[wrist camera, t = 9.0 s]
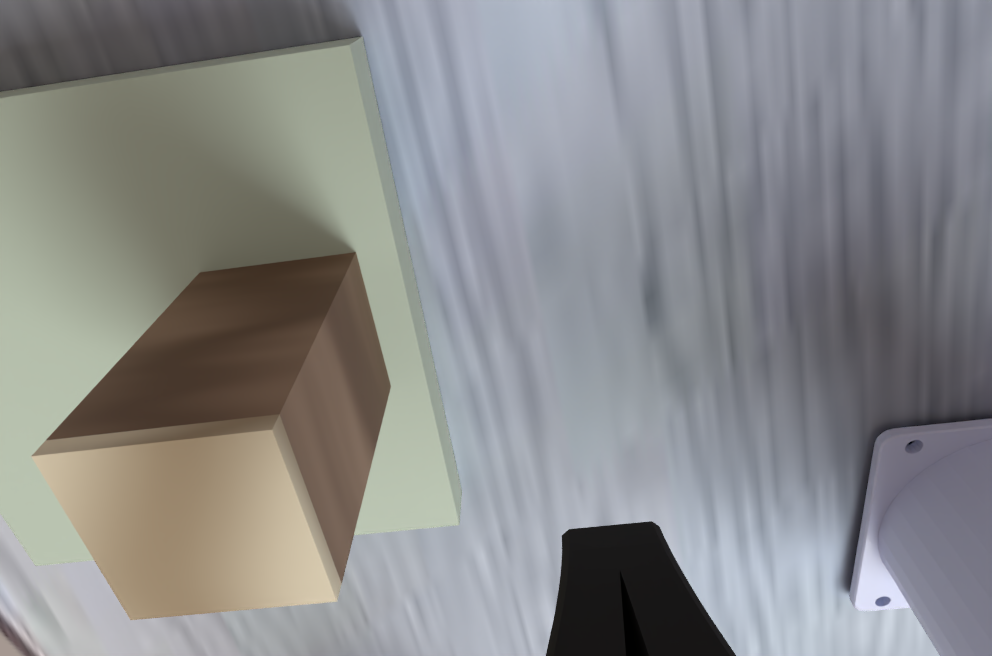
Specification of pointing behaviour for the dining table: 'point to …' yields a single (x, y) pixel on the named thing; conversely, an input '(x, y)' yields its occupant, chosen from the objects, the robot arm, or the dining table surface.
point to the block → (230, 443)
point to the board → (199, 249)
